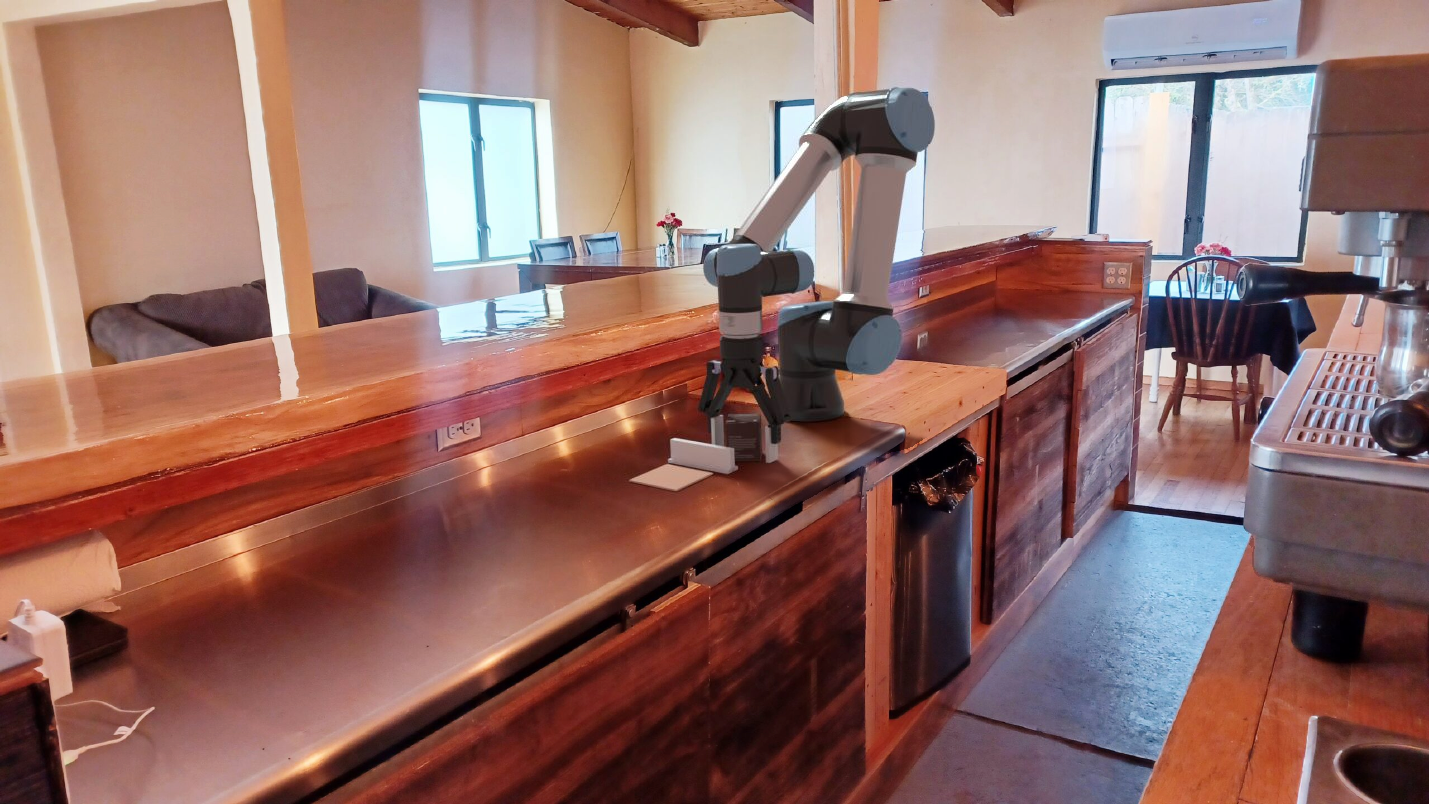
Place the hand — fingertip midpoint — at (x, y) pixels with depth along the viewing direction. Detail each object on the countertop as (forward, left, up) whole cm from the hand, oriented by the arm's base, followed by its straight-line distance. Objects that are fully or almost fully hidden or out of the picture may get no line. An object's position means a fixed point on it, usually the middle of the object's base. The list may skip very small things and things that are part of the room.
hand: (744, 456), depth 169 cm
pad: (+16, -4, 0) cm, 16 cm away
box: (0, 0, 0) cm, 1 cm away
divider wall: (+8, -3, 0) cm, 9 cm away
